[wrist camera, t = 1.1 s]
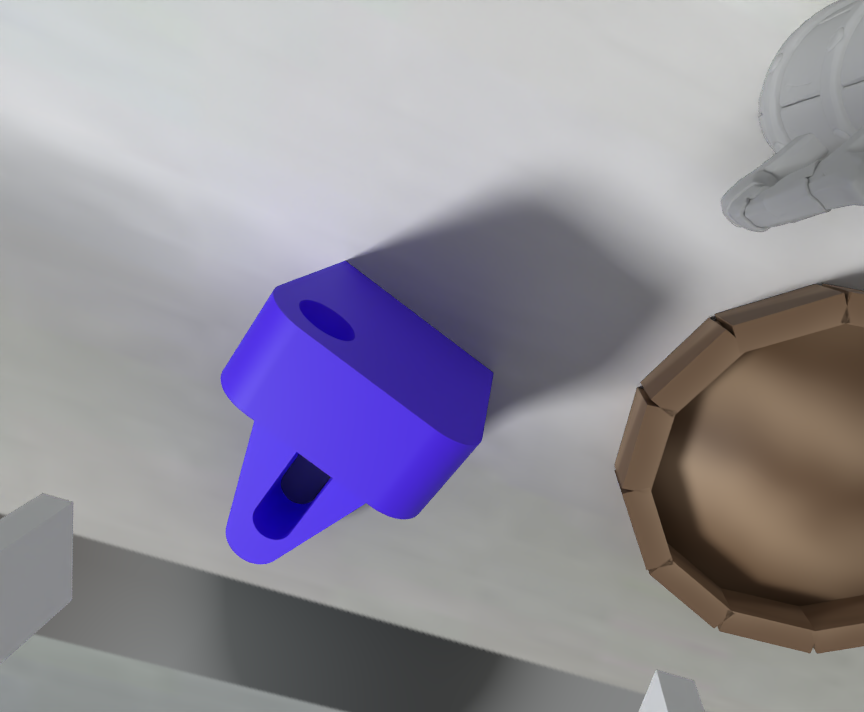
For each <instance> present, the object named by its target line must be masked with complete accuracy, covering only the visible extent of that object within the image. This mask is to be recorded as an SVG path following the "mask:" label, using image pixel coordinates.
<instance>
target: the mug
mask: <svg viewBox="0 0 864 712" xmlns="http://www.w3.org/2000/svg"><path fill="white" fill-rule="evenodd" d="M759 113H762V115H761V116H759V121H760V126H761V129H762V132H763V135H764V137H765V138H766V140H767V142H768V144H769V145H770V147H771V148H772V149H773V150H774V151H775V152H776V154H775V155H774V156H772V157H771V158H770V159H768V160H767V161H766V162H764V163H763V164H762V165H761V166H759V167H758V168H756V169H755V170H754V171H752V172H751V173H749V174H748V175H746V176H745V177H743V178H742V179H740V180H739V181H738V182H737V183H736V184H735V185H734V186H733V187H732V188H730V189H729V190H728V191H727V193H726V194H725V195H724V196H723V197H722V199H721V206H722V211H723V214H724V216H725V217H726V218H727V219H728V220H729V221H730V222H731V223H732V224H733V225H735V226H737V227H743V228H745V229H747V230H751V231H755V232H764V231H766V230H768V229H769V228H770V227H775V226H780V225H784V224H787V223H794V222H797V221H800V220H803V219H806V218H809V217H812V216H815V215H818V214H821V213H825V212H829V211H830V210H831V209H833V208H839V207H844V206H849V205H861V206H864V0H839V1H836V2H834V3H832V4H830V5H829V6H827V7H825V8H823V9H822V10H820V11H819V12H817V13H816V14H814V15H813V16H812V17H811V18H809V19H808V20H806V21H805V22H804V23H803V24H802V25H801V26H800V27H799V28H798V29H797V30H795V31H794V32H793V33H792V34H791V35H790V36H789V37H788V38H787V40H786V41H785V42H784V44H783V45H782V47H781V48H780V49H779V51H778V53H777V54H776V56H775V58H774V60H773V61H772V63H771V65H770V67H769V70H768V72H767V74H766V78H765V80H764V84H763V88H762V92H761V95H760V98H759Z"/></svg>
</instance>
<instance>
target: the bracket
mask: <svg viewBox="0 0 864 712" xmlns="http://www.w3.org/2000/svg"><path fill="white" fill-rule="evenodd" d="M492 379H493V372H492V371H490V370H489V369H488V368H486V367H485V366H484V365H482V364H481V363H480V362H478V361H477V360H476V359H474V358H473V357H472V356H471V355H469V354H468V353H467V352H465V351H464V350H463V349H461V348H460V347H459V346H457V345H456V344H455V343H453V342H452V341H451V340H449V339H448V338H447V337H445V336H444V335H443V334H441V333H440V332H439V331H437V330H436V329H435V328H434V327H432V326H431V325H430V324H428V323H427V322H426V321H424V320H423V319H422V318H420V317H419V316H418V315H416V314H415V313H414V312H412V311H411V310H410V309H408V308H407V307H406V306H404V305H403V304H402V303H401V302H399V301H398V300H397V299H395V298H394V297H393V296H391V295H390V294H389V293H387V292H386V291H385V290H383V289H382V288H381V287H379V286H378V285H377V284H375V283H374V282H373V281H371V280H370V279H369V278H367V277H366V276H365V275H364V274H362V273H361V272H360V271H358V270H357V269H356V268H354V267H353V266H352V265H350V264H349V263H348V262H346V261H343V262H341V263H338V264H335V265H333V266H330V267H327V268H325V269H322V270H319V271H317V272H314V273H311V274H309V275H306V276H303V277H301V278H298V279H295V280H293V281H290V282H287V283H285V284H282V285H279V286H277V287H276V288H275V289H274V290H273V292H272V294H271V295H270V297H269V298H268V300H267V301H266V303H265V305H264V306H263V308H262V309H261V311H260V313H259V314H258V316H257V317H256V319H255V321H254V322H253V324H252V325H251V327H250V329H249V330H248V332H247V333H246V335H245V336H244V338H243V340H242V341H241V343H240V344H239V346H238V348H237V349H236V351H235V352H234V354H233V356H232V357H231V359H230V360H229V362H228V363H227V365H226V367H225V368H224V370H223V371H222V374H221V384H222V387H223V390H224V392H225V393H226V395H227V396H228V398H229V399H230V400H231V402H232V403H233V404H234V405H235V406H236V407H237V408H238V409H240V410H241V411H242V412H243V413H245V414H246V415H247V416H249V417H250V418H251V419H253V420H254V424H253V428H252V432H251V436H250V439H249V443H248V447H247V451H246V454H245V458H244V462H243V466H242V469H241V473H240V477H239V481H238V485H237V488H236V492H235V496H234V500H233V503H232V507H231V511H230V515H229V518H228V522H227V526H226V538H227V541H228V543H229V545H230V547H231V549H232V550H233V551H234V552H235V553H236V554H237V555H238V556H239V557H240V558H242V559H244V560H245V561H248V562H250V563H254V564H267V563H270V562H273V561H274V560H276V559H277V558H279V557H281V556H282V555H284V554H285V553H287V552H289V551H290V550H292V549H293V548H295V547H297V546H298V545H300V544H301V543H303V542H305V541H306V540H308V539H309V538H311V537H313V536H314V535H316V534H317V533H319V532H321V531H322V530H324V529H325V528H327V527H329V526H330V525H332V524H333V523H335V522H337V521H338V520H340V519H341V518H343V517H345V516H346V515H348V514H349V513H351V512H353V511H354V510H356V509H357V508H359V507H361V506H362V505H364V504H365V503H367V504H368V505H370V506H371V507H372V508H374V509H376V510H377V511H379V512H381V513H383V514H385V515H387V516H390V517H393V518H397V519H410V518H413V517H415V516H417V515H418V514H419V513H420V512H421V510H422V509H423V508H424V507H425V506H426V505H427V504H428V502H429V501H430V500H431V499H432V498H433V497H434V495H435V494H436V493H437V492H438V491H439V490H440V488H441V487H442V486H443V485H444V484H445V483H446V482H447V480H448V479H449V478H450V477H451V476H452V475H453V473H454V472H455V471H456V470H457V469H458V468H459V467H460V465H461V464H462V463H463V462H464V461H465V460H466V458H467V457H468V456H469V455H470V454H471V453H472V452H473V450H474V449H475V448H476V447H477V446H478V445H479V443H480V442H481V441H482V437H483V431H484V425H485V419H486V414H487V408H488V402H489V396H490V391H491V385H492ZM299 454H300V455H302V456H303V457H304V458H306V459H307V460H308V461H310V462H311V463H313V464H314V465H315V466H317V467H318V468H319V469H321V470H322V471H323V472H325V473H326V474H327V475H329V476H330V477H331V478H330V479H329V480H328V481H327V483H326V484H325V485H324V487H323V488H322V489H321V491H320V492H319V493H318V494H317V496H316V497H315V498H314V500H312V501H311V502H309V503H306V504H298V503H295V502H293V501H291V500H289V499H288V498H287V497H286V496H285V495H284V493H283V491H282V488H281V480H282V477H283V476H284V474H285V473H286V471H287V470H288V469H289V467H290V466H291V465H292V463H293V462H294V461H295V459H296V458H297V456H298V455H299Z"/></svg>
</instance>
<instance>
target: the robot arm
mask: <svg viewBox="0 0 864 712" xmlns="http://www.w3.org/2000/svg"><path fill="white" fill-rule="evenodd" d="M72 560H73V502H72V501H69V500H65V499H62V498H58V497H55V496H51V495H48V494H44V493H42V494H40V495H39V496H37V497H36V498H34V499H32V500H31V501H29V502H27V503H26V504H24V505H23V506H21V507H19V508H18V509H16V510H15V511H13V512H11V513H10V514H8V515H6V516H5V517H3V518H2V519H0V664H1V663H2V662H3V661H4V660H6V659H7V658H8V657H9V656H10V655H11V654H12V653H13V652H14V651H16V650H17V649H18V648H19V647H20V646H21V645H22V644H23V643H25V642H26V641H27V640H28V639H29V638H30V637H31V636H32V635H33V634H35V633H36V632H37V631H38V630H39V629H40V628H41V627H42V626H43V625H44V624H46V623H47V622H48V621H49V620H50V619H51V618H52V617H54V616H55V615H56V614H57V613H58V612H59V611H60V610H61V609H62V608H64V607H65V606H66V605H67V604H68V603H69V602H70V601H71V600H72V563H73V561H72ZM639 712H705V710H704V707H703V705H702V702H701V699H700V696H699V693H698V690H697V687H696V685H695V682H694V680H691V679H688V678H684V677H681V676H677V675H674V674H670V673H667V672H663V671H660V670H656V671H655V674H654V676H653V679H652V681H651V683H650V686H649V688H648V691H647V693H646V695H645V698H644V700H643V703H642V705H641V707H640V710H639Z"/></svg>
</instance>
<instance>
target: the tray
mask: <svg viewBox="0 0 864 712" xmlns="http://www.w3.org/2000/svg"><path fill="white" fill-rule="evenodd" d="M715 317H716V320H715V321H713V320H712V319H710V318H708V319H707V320H706V321H705V322H704V323H703V324H702V325H701V326H699V327H698V328H697V329H696V330H695V331H694V332H693V333H692V334H691V335H690V336H689V337H688V338H687V339H686V340H685V341H684V342H683V343H681V344H680V345H679V346H678V347H677V348H676V349H675V350H674V351H673V352H672V353H671V354H670V355H669V356H668V357H667V358H666V359H665V360H664V361H662V362H661V363H660V364H659V365H658V366H657V367H656V368H655V369H654V370H653V371H652V372H651V373H650V374H649V375H648V376H647V377H646V378H644V379H643V380H642V381H641V382H640V383H641V384H642V386H643V387H644V388H643V389H642V388H637V390H636V393H635V397H634V400H633V404H632V407H631V410H630V414H629V417H628V421H627V424H626V428H625V431H624V434H623V438H622V441H621V445H620V448H619V452H618V455H617V458H616V462H615V468H616V470H615V473H616V476H617V479H618V483H619V486H620V489H621V492H622V495H623V498H624V501H625V504H626V508H627V511H628V514H629V517H630V520H631V523H632V526H633V529H634V532H635V536H636V539H637V542H638V545H639V548H640V551H641V554H642V557H643V560H644V563H645V566H646V570H648V571H649V574H650V575H651V576H652V577H653V578H655V579H656V580H657V581H658V582H659V583H661V584H662V585H663V586H664V587H665V588H666V589H668V590H669V591H670V592H671V593H672V594H674V595H675V596H676V597H677V598H678V599H680V600H681V601H682V602H683V603H684V604H686V605H687V606H688V607H689V608H690V609H691V610H693V611H694V612H695V613H696V614H697V615H699V616H700V617H701V618H702V619H703V620H705V621H706V622H707V623H708V624H709V625H711V626H712V627H713V628H715V627H717V626H718V629H719V631H721V632H725V633H729V634H733V635H737V636H741V637H746V638H750V639H754V640H758V641H762V642H766V643H770V644H774V645H778V646H782V647H787V648H791V649H795V650H799V651H803V652H807V653H811V651H812V648H814V649H815V651H816V653H824V652H830V651H836V650H842V649H849V648H855V647H861V646H864V291H862V290H856V289H851V288H845V287H840V286H834V285H829V284H822V286H820V285H817V284H813V285H810V286H807V287H803V288H800V289H797V290H794V291H790V292H787V293H784V294H780V295H777V296H774V297H770V298H767V299H764V300H760V301H757V302H754V303H750V304H747V305H744V306H740V307H737V308H734V309H731V310H727V311H724V312H721V313H717V314H715Z"/></svg>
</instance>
